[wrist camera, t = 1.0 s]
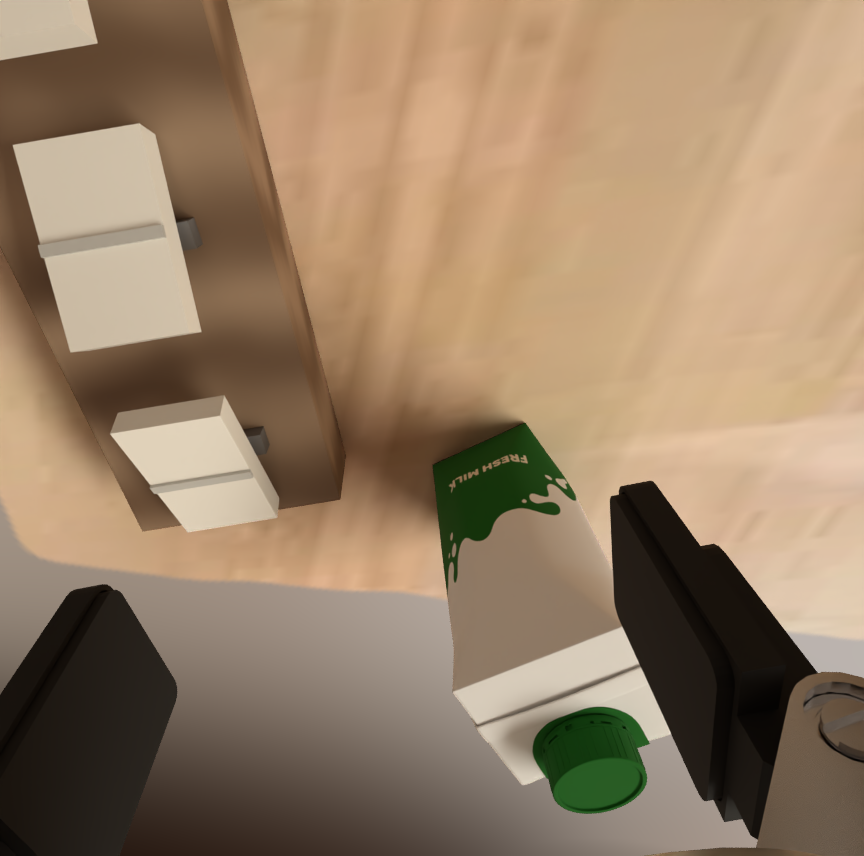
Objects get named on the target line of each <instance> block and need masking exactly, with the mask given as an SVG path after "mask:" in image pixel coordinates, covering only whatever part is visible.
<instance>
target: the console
mask: <svg viewBox="0 0 864 856" xmlns="http://www.w3.org/2000/svg"><path fill="white" fill-rule="evenodd" d="M87 2H88V6H89V10H90V14H91V18H92V22H93V26H94V30H95V34H96V38H97V42H98V43H97V44H92V45H86V46H80V47H74V48H69V49H63V50H57V51H51V52H45V53H40V54H34V55H28V56H22V57H17V58H11V59H5V60H0V247H1V249H2V251H3V253H4V255H5V257H6V259H7V261H8V263H9V265H10V267H11V269H12V271H13V273H14V275H15V277H16V279H17V281H18V283H19V285H20V287H21V289H22V291H23V293H24V295H25V297H26V299H27V301H28V303H29V305H30V307H31V309H32V311H33V313H34V315H35V317H36V319H37V321H38V323H39V325H40V327H41V329H42V331H43V333H44V335H45V337H46V339H47V341H48V343H49V345H50V347H51V349H52V351H53V353H54V355H55V357H56V359H57V361H58V363H59V365H60V367H61V369H62V371H63V373H64V375H65V377H66V379H67V381H68V383H69V385H70V387H71V389H72V391H73V393H74V395H75V397H76V399H77V401H78V403H79V405H80V407H81V409H82V411H83V413H84V415H85V417H86V419H87V421H88V423H89V425H90V427H91V429H92V431H93V433H94V435H95V437H96V439H97V441H98V443H99V445H100V447H101V449H102V451H103V453H104V455H105V457H106V459H107V461H108V463H109V465H110V467H111V469H112V471H113V473H114V475H115V477H116V479H117V481H118V483H119V485H120V487H121V489H122V491H123V493H124V495H125V497H126V499H127V501H128V503H129V505H130V507H131V509H132V511H133V513H134V515H135V517H136V519H137V521H138V523H139V525H140V527H141V529H142V531H149V530H155V529H161V528H168V527H174V526H180V525H182V524H181V523H180V522H179V521H178V519H177V518H176V517H175V516H174V514H173V513H172V512H171V511H170V509H169V508H168V507H167V506H166V504H165V503H164V502H163V500H162V499H161V498H160V497H159V495H158V494H154V493H153V492H152V491H151V489H150V484H149V483H148V481H147V480H146V479H145V478H144V476H143V475H142V474H141V473H140V471H139V470H138V469H137V468H136V466H135V465H134V464H133V462H132V461H131V460H130V459H129V457H128V456H127V455H126V454H125V452H124V451H123V450H122V449H121V447H120V446H119V445H118V444H117V442H116V441H115V440H114V438H113V437H112V436H111V435H110V432H111V430H112V427H113V424H114V422H115V419H116V416H117V414H118V413H119V412H125V411H131V410H137V409H143V408H149V407H156V406H162V405H168V404H174V403H180V402H186V401H192V400H198V399H204V398H210V397H216V396H222V395H224V396H225V397H226V399H227V401H228V403H229V405H230V407H231V409H232V410H233V412H234V414H235V416H236V418H237V420H238V422H239V424H240V425H241V427H242V429H243V431H244V433H245V435H246V437H247V439H248V440H249V442H250V444H251V446H252V448H253V450H254V452H255V454H256V455H257V457H258V459H259V461H260V463H261V465H262V467H263V469H264V470H265V472H266V474H267V476H268V478H269V480H270V482H271V483H272V485H273V487H274V489H275V491H276V493H277V495H278V497H279V507H278V510H279V509H285V508H291V507H297V506H304V505H310V504H316V503H322V502H328V501H335V500H340V498H341V490H342V482H343V474H344V466H345V459H346V455H345V451H344V447H343V443H342V439H341V436H340V432H339V428H338V424H337V420H336V417H335V413H334V409H333V405H332V401H331V397H330V394H329V390H328V386H327V382H326V378H325V374H324V371H323V367H322V363H321V359H320V355H319V351H318V348H317V344H316V340H315V336H314V332H313V328H312V325H311V321H310V317H309V313H308V309H307V305H306V302H305V298H304V294H303V290H302V286H301V282H300V279H299V275H298V271H297V267H296V263H295V259H294V256H293V252H292V248H291V244H290V240H289V236H288V233H287V229H286V225H285V221H284V217H283V213H282V210H281V206H280V202H279V198H278V194H277V190H276V187H275V183H274V179H273V175H272V171H271V167H270V164H269V160H268V156H267V152H266V148H265V144H264V141H263V137H262V133H261V129H260V125H259V121H258V118H257V114H256V110H255V106H254V102H253V98H252V95H251V91H250V87H249V83H248V79H247V75H246V72H245V68H244V64H243V60H242V56H241V52H240V49H239V45H238V41H237V37H236V33H235V29H234V26H233V22H232V18H231V14H230V10H229V6H228V3H227V0H87ZM138 123H140V124H141V125H142V126H144V127H145V128H147V129H148V130H150V131H151V132H152V133H154V134H155V136H156V140H157V144H158V148H159V153H160V157H161V161H162V165H163V170H164V174H165V178H166V182H167V187H168V191H169V195H170V200H171V204H172V208H173V212H174V217H175V221H176V225H177V229H178V234H179V238H180V242H181V246H182V251H183V255H184V259H185V263H186V268H187V272H188V276H189V280H190V285H191V289H192V293H193V298H194V302H195V306H196V310H197V315H198V319H199V323H200V327H201V332H199V333H193V334H187V335H181V336H175V337H169V338H163V339H157V340H151V341H145V342H139V343H133V344H127V345H121V346H115V347H109V348H103V349H97V350H91V351H81V352H70V349H69V346H68V342H67V338H66V335H65V331H64V328H63V324H62V320H61V317H60V313H59V310H58V306H57V303H56V299H55V295H54V292H53V288H52V285H51V281H50V277H49V274H48V270H47V267H46V263H45V259H44V258H41V256H40V252H39V249H38V245H40V242H39V238H38V234H37V231H36V227H35V224H34V220H33V216H32V213H31V209H30V206H29V202H28V199H27V195H26V191H25V188H24V184H23V181H22V177H21V173H20V170H19V166H18V163H17V159H16V155H15V152H14V148H13V145H15V144H21V143H27V142H33V141H39V140H45V139H50V138H56V137H62V136H68V135H74V134H80V133H85V132H91V131H97V130H103V129H109V128H115V127H120V126H126V125H132V124H138Z"/></svg>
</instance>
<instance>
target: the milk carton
mask: <svg viewBox="0 0 864 856" xmlns="http://www.w3.org/2000/svg"><path fill="white" fill-rule="evenodd" d="M433 473H434V482H435V491H436V501H437V511H438V520H439V529H440V538H441V548H442V556H443V564H444V572H445V581H446V589H447V597H448V605H449V614H450V622H451V630H452V637H453V644H454V668H453V690H452V692H453V693H454V695H455V696H456V698H457V699H458V700H459V702H460V703H461V704H462V706H463V707H464V708H465V710H466V711H467V712H468V713H469V715H470V716H471V719H472V721H473V723H474V725H475V727H476V729H477V731H478V732H479V733H480V735H481V736H482V737H483V739H484V740H486V741H487V742H488V743H489V744H490V746H491V747H492V748H493V750H494V751H495V752H496V753H497V755H498V756H499V757H500V758H501V759H502V761H503V762H504V763H505V765H506V766H507V767H508V768H509V770H510V771H511V772H512V773H513V775H514V776H515V777H516V778H517V780H518V781H519V782H520V783H521V784H522V785H526V784H529V783H532V782H534V781H536V780H539V779H541V778H543V777H546V778H548V779H549V783H550V787H551V791H552V793H553V797H554V799H555V801H556V802H557V803H558V804H559V805H560V806H561V807H563V808H564V809H567V810H569V811H572V812H576V813H584V814H592V813H601V812H606V811H610V810H614V809H617V808H619V807H622V806H624V805H626V804H628V803H629V802H631V801H632V800H634V799H635V798H636V797H637V796H638V795H639V794H640V793H641V792H642V791H643V789H644V788H645V786H646V782H647V774H646V771H645V767H644V765H643V762H642V759H641V757H640V754H639V752H638V749H637V748H639V747H642V746H645V745H648V744H649V741H650V740H654V739H657V738H661V737H664V736H667V735H669V734H671V732H670V730H669V728H668V726H667V723H666V721H665V719H664V717H663V715H662V713H661V710H660V708H659V706H658V704H657V702H656V699H655V697H654V695H653V693H652V691H651V688H650V686H649V684H648V682H647V680H646V678H645V675H644V673H643V671H642V669H641V667H640V664H639V662H638V660H637V658H636V656H635V653H634V651H633V649H632V647H631V645H630V642H629V640H628V638H627V636H626V634H625V632H624V629H623V627H622V625H621V623H620V621H619V618H618V615H617V612H616V608H615V603H614V587H613V569H612V567H611V565H610V563H609V561H608V559H607V557H606V555H605V553H604V551H603V549H602V547H601V545H600V543H599V541H598V539H597V537H596V535H595V533H594V531H593V529H592V527H591V525H590V523H589V521H588V519H587V517H586V515H585V513H584V511H583V508H582V506H581V504H580V502H579V501H578V499H577V497H576V495H575V493H574V492H573V490H572V488H571V487H570V485H569V484H568V482H567V480H566V479H565V477H564V476H563V474H562V473H561V472H560V470H559V469H558V467H557V466H556V465H555V463H554V462H553V461H552V459H551V458H550V457H549V455H548V454H547V453H546V451H545V450H544V448H543V447H542V446H541V444H540V443H539V441H538V440H537V439H536V437H535V436H534V434H533V433H532V432H531V430H530V429H529V427H528V426H527V424H526V423H524V424H521V425H519V426H517V427H515V428H513V429H510V430H508V431H506V432H504V433H502V434H500V435H497V436H495V437H493V438H491V439H489V440H486V441H484V442H482V443H480V444H478V445H476V446H473V447H471V448H469V449H467V450H465V451H462V452H460V453H458V454H456V455H454V456H452V457H449V458H447V459H445V460H443V461H441V462H438V463H436V464H434V465H433Z"/></svg>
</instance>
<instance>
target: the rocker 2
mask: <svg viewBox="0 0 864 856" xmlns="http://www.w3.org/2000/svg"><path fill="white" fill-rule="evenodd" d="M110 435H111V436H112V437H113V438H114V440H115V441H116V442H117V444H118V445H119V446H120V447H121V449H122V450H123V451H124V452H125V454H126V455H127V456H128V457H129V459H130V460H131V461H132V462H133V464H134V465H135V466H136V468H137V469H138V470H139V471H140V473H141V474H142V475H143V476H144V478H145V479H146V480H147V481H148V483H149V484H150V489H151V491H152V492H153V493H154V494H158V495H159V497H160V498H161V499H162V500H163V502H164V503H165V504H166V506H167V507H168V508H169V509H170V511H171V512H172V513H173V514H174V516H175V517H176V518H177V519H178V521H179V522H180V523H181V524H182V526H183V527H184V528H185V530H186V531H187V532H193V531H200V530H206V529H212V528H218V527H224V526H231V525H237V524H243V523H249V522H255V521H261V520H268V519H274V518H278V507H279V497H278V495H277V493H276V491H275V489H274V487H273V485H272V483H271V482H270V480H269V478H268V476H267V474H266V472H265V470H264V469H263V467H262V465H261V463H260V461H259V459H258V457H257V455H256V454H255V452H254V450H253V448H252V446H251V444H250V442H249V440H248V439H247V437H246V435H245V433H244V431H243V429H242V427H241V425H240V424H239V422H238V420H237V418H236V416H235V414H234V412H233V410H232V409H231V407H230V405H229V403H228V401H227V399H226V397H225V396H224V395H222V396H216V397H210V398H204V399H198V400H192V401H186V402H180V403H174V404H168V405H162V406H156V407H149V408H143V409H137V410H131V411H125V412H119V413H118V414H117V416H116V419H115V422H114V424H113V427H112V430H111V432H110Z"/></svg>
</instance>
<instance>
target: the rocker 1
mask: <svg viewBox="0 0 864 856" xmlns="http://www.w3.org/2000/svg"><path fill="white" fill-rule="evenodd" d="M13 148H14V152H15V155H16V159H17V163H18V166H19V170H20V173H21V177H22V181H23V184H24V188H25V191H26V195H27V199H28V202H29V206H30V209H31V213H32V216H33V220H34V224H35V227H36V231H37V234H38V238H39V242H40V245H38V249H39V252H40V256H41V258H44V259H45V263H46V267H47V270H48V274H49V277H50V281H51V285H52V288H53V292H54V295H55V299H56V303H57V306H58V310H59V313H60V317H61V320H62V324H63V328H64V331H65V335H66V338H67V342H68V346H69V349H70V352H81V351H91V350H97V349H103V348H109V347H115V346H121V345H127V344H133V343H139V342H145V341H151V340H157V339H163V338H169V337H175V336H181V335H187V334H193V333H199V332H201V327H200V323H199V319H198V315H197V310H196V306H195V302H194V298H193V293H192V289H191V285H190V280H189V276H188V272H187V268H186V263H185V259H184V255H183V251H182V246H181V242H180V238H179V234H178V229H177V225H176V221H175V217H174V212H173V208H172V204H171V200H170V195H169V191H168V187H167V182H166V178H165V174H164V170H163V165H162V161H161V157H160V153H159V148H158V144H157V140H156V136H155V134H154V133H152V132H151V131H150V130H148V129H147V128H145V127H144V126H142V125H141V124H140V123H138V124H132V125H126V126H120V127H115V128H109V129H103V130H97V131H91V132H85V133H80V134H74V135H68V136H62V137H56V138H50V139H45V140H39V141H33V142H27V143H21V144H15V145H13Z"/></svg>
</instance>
